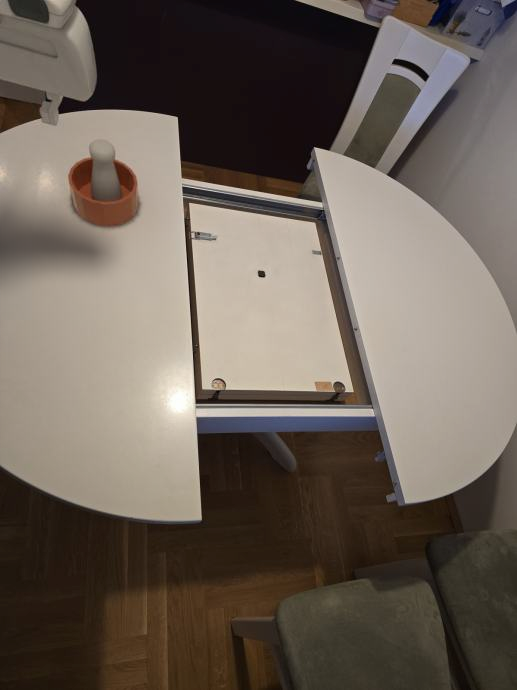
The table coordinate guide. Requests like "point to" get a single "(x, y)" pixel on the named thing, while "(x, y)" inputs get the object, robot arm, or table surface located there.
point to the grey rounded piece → (104, 172)
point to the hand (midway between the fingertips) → (6, 110)
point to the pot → (99, 210)
